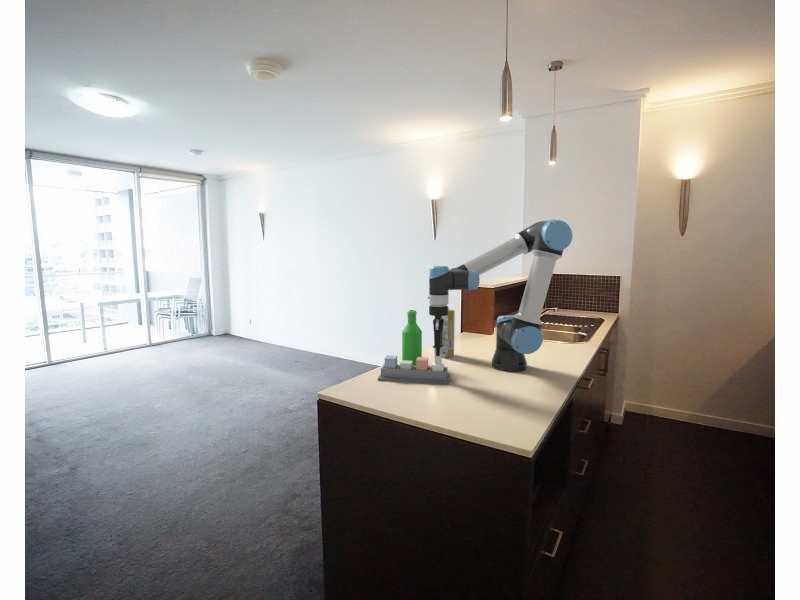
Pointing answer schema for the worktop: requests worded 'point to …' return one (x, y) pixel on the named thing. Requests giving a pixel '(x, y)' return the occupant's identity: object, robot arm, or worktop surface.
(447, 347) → the juice carton
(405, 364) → the key sage
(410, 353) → the bottle
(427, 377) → the keypad
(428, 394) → the worktop surface
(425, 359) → the key terracotta
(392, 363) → the key slate
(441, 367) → the key cream
